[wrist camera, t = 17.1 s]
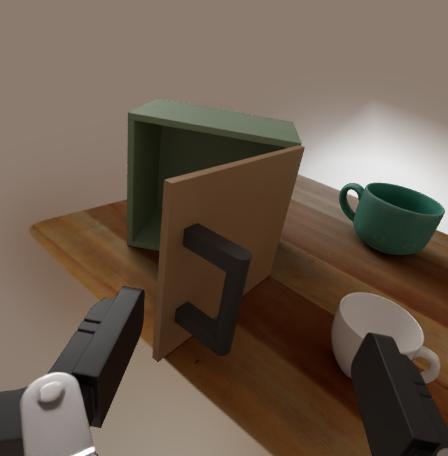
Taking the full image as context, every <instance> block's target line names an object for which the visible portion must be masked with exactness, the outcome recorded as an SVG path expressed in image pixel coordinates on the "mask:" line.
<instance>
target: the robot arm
mask: <svg viewBox="0 0 448 456" xmlns="http://www.w3.org/2000/svg"><path fill="white" fill-rule="evenodd" d="M144 298H145V292H144V290H141V289H136V288H131V287H126V286H123V287H122V288H121V289H120V291H119V293H118V294H117V296H116V298H115V299H114V300H113V299H108V298H104V299H102V300H101V301H100V302H98V303H97V304H96V305H94V306H93V307H92V308H91V309H90V311H89V313H88V314H87V315H86V317H85V319H84V321H82V323H81V324H80V326H79V327H78V330H77V331H76V332H75V334H74V335H73V337H72V338H71V340H70V341H69V343H68V344H67V346H66V347H65V349H64V350H63V352H62V353H61V355H60V356H59V358H58V359H57V361H56V362H55V364H54V365H53V367H52V368H51V370H50V371H49V372H48V373H47V374H46V375H44V376H42V377H40V378H38V379H37V380H35V381H34V382H32V383H31V384H30V385H29V386H28V387H25V388H22V389H18V390H13V391H3V392H0V456H98V454H96V451H95V448H94V444H93V440H92V436H91V432H90V426H93V427H98V428H101V426H102V424H103V421H104V419H105V417H106V415H107V412H108V410H109V408H110V405H111V403H112V401H113V398H114V396H115V394H116V391H117V389H118V387H119V384H120V382H121V380H122V377H123V375H124V373H125V370H126V368H127V366H128V363H129V361H130V359H131V356H132V354H133V352H134V349H135V347H136V345H137V342H138V340H139V337H140V335H141V331H142V327H143V320H144ZM351 379H352V383H353V387H354V390H355V394H356V398H357V401H358V405H359V409H360V413H361V416H362V420H363V424H364V428H365V431H366V435H367V439H368V443H369V446H370V450H371V454H372V456H448V429H447V427H446V425H445V422H444V420H443V418H442V416H441V414H440V412H439V410H438V408H437V406H436V404H435V402H434V400H433V399H432V398H431V397H432V396H431V394H430V392H429V389H428V387H426V386H425V384H426V383H425V381H424V379H423V377H422V375H421V373H420V371H419V369H418V368H417V367H416V365H415V364H414V363H413V362H412V361H411V360H410V359H409V357H408V356H407V355H404V354H401V353H400V351H399V349H398V347H397V344H396V342H395V340H394V339H393V338H392V337H391V336H386V335H381V334H376V333H371V332H369V333H367V334H366V336H365V337H364V339H363V341H362V343H361V345H360V347H359V349H358V351H357V353H356V355H355V357H354V359H353V361H352V364H351Z"/></svg>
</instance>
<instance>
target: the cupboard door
mask: <svg viewBox="0 0 448 456" xmlns="http://www.w3.org/2000/svg"><path fill="white" fill-rule="evenodd" d="M303 152H304V147H302V146H300V145H298V146H294V147H290V148H286V149H282V150H278V151H274V152H271V153H267V154H263V155H259V156H255V157H251V158H247V159H243V160H239V161H236V162H232V163H228V164H224V165H220V166H216V167H212V168H208V169H204V170H200V171H197V172H193V173H189V174H185V175H181V176H177V177H173V178H169V179H165V180H164V190H163V205H162V221H161V236H160V251H159V266H158V281H157V297H156V312H155V327H154V342H153V358H154V359H155V360H156V361H157V362H159V361H160V360H161V359H162V358H164V357H165V356H166V355H168V354H169V353H170V352H171V351H173V350H174V349H175V348H177V347H178V346H179V345H180V344H182V343H183V342H184V341H186V340H187V339H188V338H189V337H191V336H194V337H195V338H196V339H197V340H199V341H200V342H201V343H203V344H204V345H205V346H206V347H208V348H209V349H210V350H212V351H213V352H214V353H215V354H217V355H219V356H225V355H227V354H228V353H229V352H230V348H231V344H232V340H233V335H234V331H235V327H236V323H237V318H238V314H239V310H240V305H241V301H242V297H243V295H245V294H246V293H247V292H249V291H250V290H251V289H252V288H254V287H255V286H256V285H258V284H259V283H260V282H261V281H263V280H264V279H265V278H267V277H268V276H269V275H270V273H271V269H272V265H273V262H274V258H275V254H276V251H277V247H278V243H279V240H280V236H281V232H282V229H283V225H284V221H285V218H286V214H287V210H288V207H289V203H290V199H291V196H292V192H293V188H294V185H295V181H296V177H297V174H298V170H299V166H300V162H301V159H302V155H303ZM216 316H218V318H217V322H216V321H215V320H214V318H215V317H216Z"/></svg>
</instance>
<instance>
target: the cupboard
mask: <svg viewBox="0 0 448 456" xmlns="http://www.w3.org/2000/svg"><path fill="white" fill-rule="evenodd" d="M298 145H300V146H301V141H300V139H299V136H298V134H297V131H296V129H295V126H294V124H293V122H289V121H284V120H278V119H272V118H266V117H261V116H255V115H250V114H244V113H238V112H233V111H227V110H221V109H216V108H210V107H205V106H199V105H193V104H188V103H182V102H176V101H170V100H165V99H157V100H155V101H152V102H150V103H148V104H146V105H143V106H141V107H139V108H137V109H135V110H133V111H130V112H128V175H127V177H128V178H127V180H128V181H127V184H128V185H127V245H129V246H134V247H139V248H145V249H150V250H155V251H160V236H161V221H162V205H163V190H164V180H165V179H169V178H173V177H177V176H181V175H185V174H189V173H193V172H197V171H200V170H204V169H208V168H212V167H216V166H220V165H224V164H228V163H232V162H236V161H239V160H243V159H247V158H251V157H255V156H259V155H263V154H267V153H271V152H274V151H278V150H282V149H286V148H290V147H294V146H298Z"/></svg>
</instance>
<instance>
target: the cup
mask: <svg viewBox="0 0 448 456" xmlns="http://www.w3.org/2000/svg"><path fill="white" fill-rule="evenodd" d="M369 332H371V333H376V334H381V335H386V336H391V337H392V338H393V339H394V340H395V342H396V344H397V347H398V349H399V351H400V353H401V354H404V355H407V356H408V357H409V359H410V360H411V361H412V360H413V359H414V358H416V357H422V358H424V359H426V360H428V361H429V362H430V366H429V368H428V369H427V370H426V371H424V372H420V373H421V375H422V377H423V379H424V381H425V383H430V382H432V381H433V380H435V379H436V378H437V376H438V374H439V371H440V366H441V364H440V359H439V357H438V356H437V354H435V353H434V352H433V351H432V350H430V349H428V348H426V347H424V346H423V343H424V334H423V331H422V329H421V327H420V325H419V324H418V322H417V321H416V320H415V319H414V317H413V316H412V315H411V314H410V313H408V312H407V311H406V310H405V309H403V308H402V307H401V306H399V305H397V304H396V303H394V302H392V301H390V300H388V299H386V298H384V297H381V296H378V295H375V294H371V293H364V292H356V293H350V294H348V295H346V296H344V297H343V298H342V300H341V301H340V304H339V306H338V308H337V311H336V313H335V316H334V319H333V323H332V329H331V343H332V349H333V353H334V356H335V359H336V361H337V363H338V366H339V367H340V369H341V370H342V372H343V373H344V374H345V375H347V376H348V377H349V378H351V364H352V361H353V359H354V357H355V355H356V353H357V351H358V349H359V347H360V345H361V343H362V341H363V339H364V337H365V336H366V334H367V333H369Z"/></svg>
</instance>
